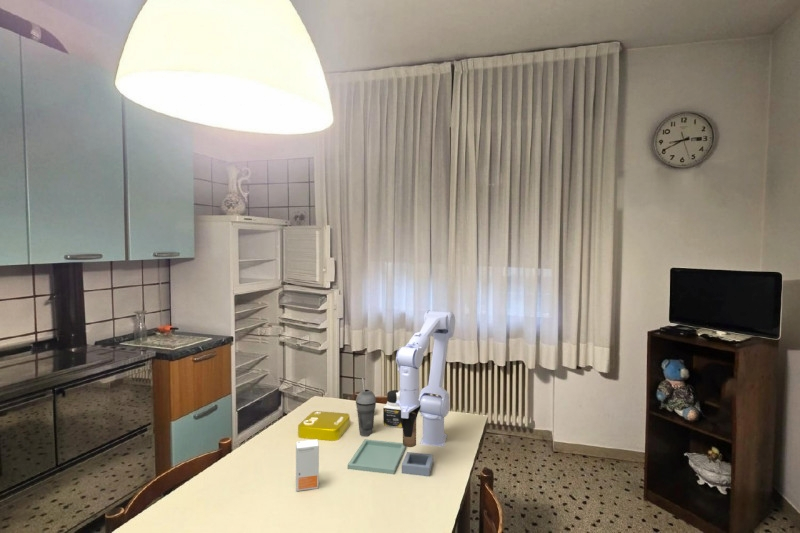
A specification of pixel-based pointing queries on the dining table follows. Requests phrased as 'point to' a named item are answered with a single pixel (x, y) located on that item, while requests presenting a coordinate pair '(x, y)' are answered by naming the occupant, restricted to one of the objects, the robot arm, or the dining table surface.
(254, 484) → the dining table surface
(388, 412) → the medicine bottle
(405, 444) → the dowel
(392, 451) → the tray
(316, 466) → the skincare box
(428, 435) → the robot arm
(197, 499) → the dining table surface
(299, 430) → the element tile
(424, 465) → the grey square recessed block
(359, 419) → the beverage cup
